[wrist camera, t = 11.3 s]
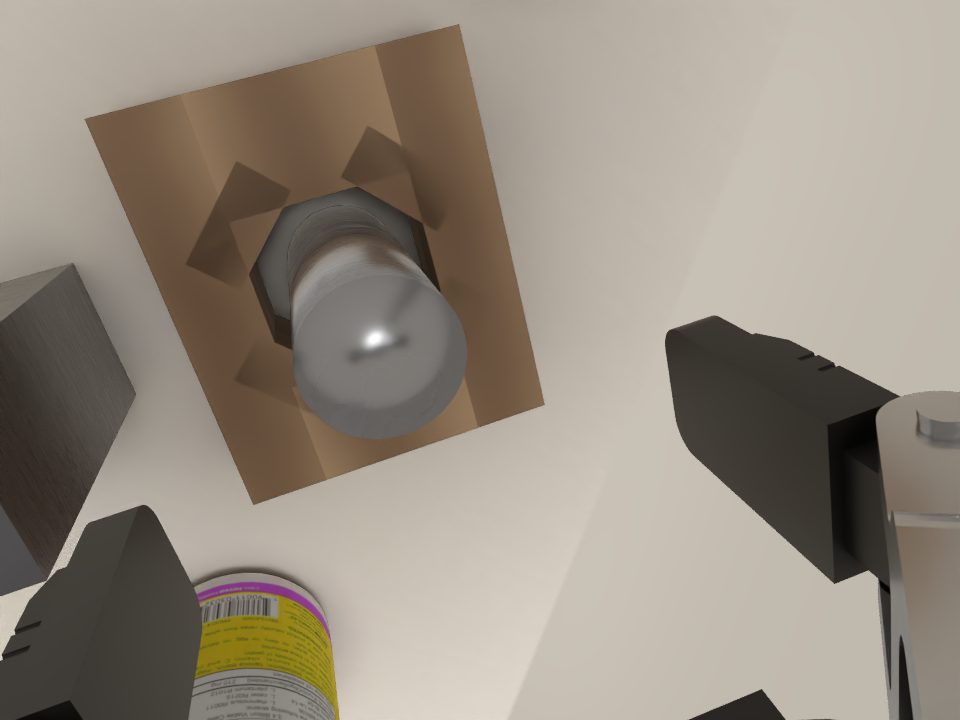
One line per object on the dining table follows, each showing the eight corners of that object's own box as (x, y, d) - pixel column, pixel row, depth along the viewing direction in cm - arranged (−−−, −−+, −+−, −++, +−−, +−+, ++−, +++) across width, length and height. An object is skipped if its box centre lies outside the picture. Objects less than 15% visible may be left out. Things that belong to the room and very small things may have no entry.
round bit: (379, 192, 23) (443, 253, 14) (409, 294, 25) (484, 407, 16) (271, 223, 23) (266, 306, 14) (308, 325, 24) (325, 461, 15)
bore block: (436, 32, 22) (459, 24, 20) (517, 373, 27) (544, 404, 24) (109, 116, 21) (84, 118, 18) (256, 461, 25) (253, 505, 23)
